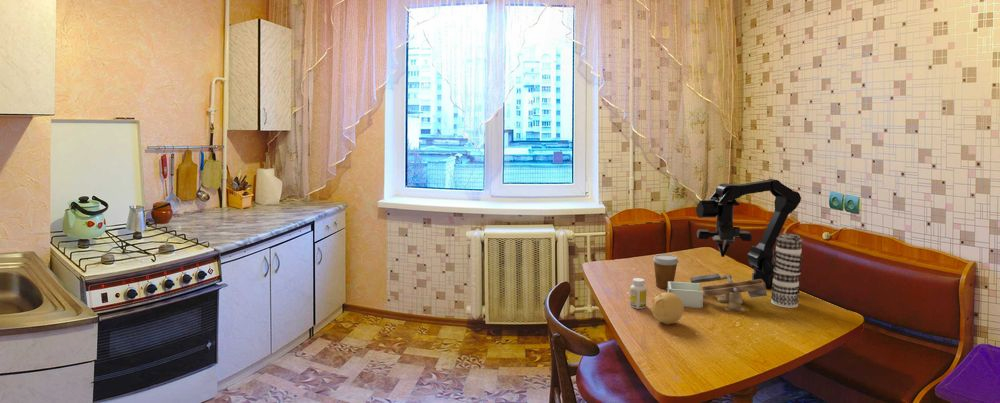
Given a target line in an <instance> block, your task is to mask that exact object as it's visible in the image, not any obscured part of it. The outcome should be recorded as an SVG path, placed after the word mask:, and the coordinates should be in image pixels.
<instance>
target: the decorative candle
mask: <svg viewBox="0 0 1000 403" xmlns="http://www.w3.org/2000/svg"><path fill="white" fill-rule="evenodd" d="M776 238H777V240H776V245H775V248H773V260H772V263H773V265H774V266H775V267H774V268H773V271H774V272H775V274H773V283H772V286H773V287H772V289H771V290H772V291H771V292H770V299H771V300H770V301H771V302H770V303H771V304H773V305H774V306H776V307H779V308H790V309H791V308H792V309H793V308H795V309H796V308H797V307H798V306H799V302H800V301H799V299H800V296H799V294H800V289H801V288H800V287H801V286H800V281H799V279H800V275H801V273H802V270H801V269H802V268H803V266H802V265H801V264H802V263H803V258H804V256H803V255H802V250H803V248H802V245H803V244H802V243H803V241H804V239H802V238H801V236H800V235H798V234H796V233H789V232H784V233H780V234H779V236H778V237H776Z"/></svg>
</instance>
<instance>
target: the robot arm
mask: <svg viewBox="0 0 1000 403" xmlns="http://www.w3.org/2000/svg"><path fill="white" fill-rule="evenodd" d="M762 192H763V193H764V192H770V193H771V195H772V196H774V198H775V199H774V211H773V213H772V216H771V218H770V220H769V222H768V223H767V227H766V229H765V231H764V233H763V235H762V237H761V239H760V242H759V243H758V244H757V245H756V246H754V245H751V246H750V248H749V249H750V250H749V252H748V253H747V261H748V263H749V265H750V267H751V269H753V272H752V273H751V280H757V279H762V280H763V281H764V283H765V285H766V290H767V289H769V290H772V287H773V285H772V283H773V282H774V275H775V272H774V271H773V268H774V267H775V266H774V265H773V260H774V259H773V258H774V255H773V252H774V247H775V246H776V245H775V244H777V238H776V237H779V236H780V234H781V232H782V229H783V228H784V225H785V224H786V221H787V218H788V217H789V215H790V214H791V213H793V212H794V211H795V210H797V208H798V206H799V205H800V204H801V201H802V196H801V194H800V193H799V192H798V191H795V190H793V189H791V187H790V188H789V187H788V186H787V185H785V184H783V183H782V182H781V181H780V180H778V179H773V178H768V179H765V180H759V181H758V180H756V181H752V182H745V183H740V184H739V183H719V184H718V185H717V186H716V189H715V191H714V192H713V194H712V195H711V196H710V197H709V199H699V200H698V201H699V202H698V203H697V205H696V208H695V211H696V216H697V217H698V218H699V219H701V218H702V219H703V218H706V219H708V218H711V219H712V218H716V223H715V231H710V230H709V229H706V228H705V229H704V228H702V229H701V228H699V229H698V230H697V231H696V236H697V239H699V240H708V239H709V238H712V240H713V242H716V244H717V246H718V247H717V248H718V250H719V253H720V256H721V258H724V257H725V256H726V253H727V251H728V249H729V247H730V245H731V244H733V243H735V242H736V240H735V239H741V241H742V242H753V241H752V240H753V235H752V233H751V232H749V231H748V230H741V227H740V226H734V223H733V221H734V208H735V206H736V207H737V206H740V203H739V201H737V199H739V198H741V197H742V196H745V195H750V194H751V195H752V194H757V193H762Z"/></svg>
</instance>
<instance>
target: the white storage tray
mask: <svg viewBox="0 0 1000 403" xmlns="http://www.w3.org/2000/svg"><path fill="white" fill-rule="evenodd" d="M666 291H667V292H668V293H673V294H675V295H676V296H678V297H679V298H680V300H681V301H682V303H683V307H684V308H693V309H695V308H696V309H703V304H704V293H703V290H701V283H691V282H683V281H674V282H671V281H668V289H666Z"/></svg>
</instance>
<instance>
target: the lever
mask: <svg viewBox="0 0 1000 403" xmlns="http://www.w3.org/2000/svg"><path fill="white" fill-rule="evenodd" d="M689 278H690V281H691V282H690V283H700V284H701V283H707V282H715V281H722V280H727V281H728V282H725V283H726V284H725V283H720V284H713V285H712V284H711V285H705V286H702V291H703V296H704V297H713V296H714V297H715V296H717V295H722V296H724V294H730V292H732V293H745V292H747V293H748V295H749V296H750V298H758V297H759V298H760V297H768V294H767V288H766V285H765V283H764V281H763V280H762V279H757V280H752V279H751V280H744V281H735V282H734V281H733V280H732V275H731V274H724V275H719V273H714V274H706V275H699V276H697V275H696V276H691V277H689Z"/></svg>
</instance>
